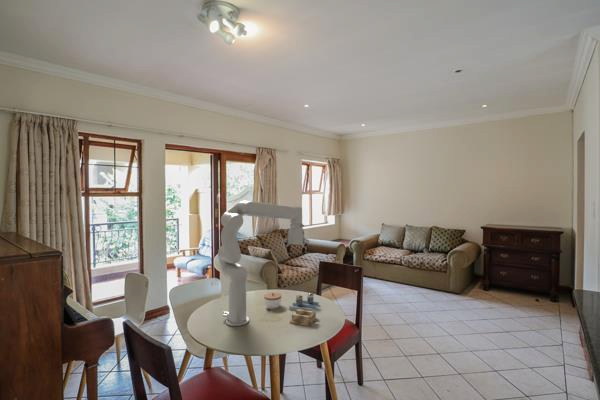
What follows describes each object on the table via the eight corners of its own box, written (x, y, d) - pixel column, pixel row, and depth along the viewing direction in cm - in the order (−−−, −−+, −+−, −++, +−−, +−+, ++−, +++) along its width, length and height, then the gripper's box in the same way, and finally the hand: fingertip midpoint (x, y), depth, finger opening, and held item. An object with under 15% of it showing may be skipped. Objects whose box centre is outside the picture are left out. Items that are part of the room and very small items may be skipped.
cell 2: (306, 306, 183) (306, 293, 183) (308, 304, 186) (308, 291, 186) (312, 307, 182) (312, 294, 181) (314, 305, 185) (314, 292, 185)
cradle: (289, 323, 162) (289, 314, 162) (296, 316, 171) (296, 308, 171) (310, 326, 158) (310, 318, 158) (316, 319, 167) (316, 311, 167)
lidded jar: (283, 305, 188) (283, 290, 188) (279, 311, 177) (279, 296, 177) (266, 304, 190) (266, 289, 190) (261, 310, 179) (261, 295, 179)
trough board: (288, 311, 179) (288, 306, 179) (295, 303, 191) (295, 299, 191) (313, 314, 173) (313, 309, 173) (319, 306, 186) (319, 302, 186)
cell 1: (297, 307, 182) (297, 294, 182) (303, 307, 181) (303, 294, 181) (295, 309, 179) (295, 296, 179) (301, 310, 178) (301, 296, 177)
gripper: (311, 226, 188) (310, 252, 188) (285, 225, 194) (285, 251, 194) (307, 227, 181) (307, 255, 181) (281, 226, 187) (281, 253, 187)
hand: (296, 253), depth 188 cm, fingers open, 9 cm apart
